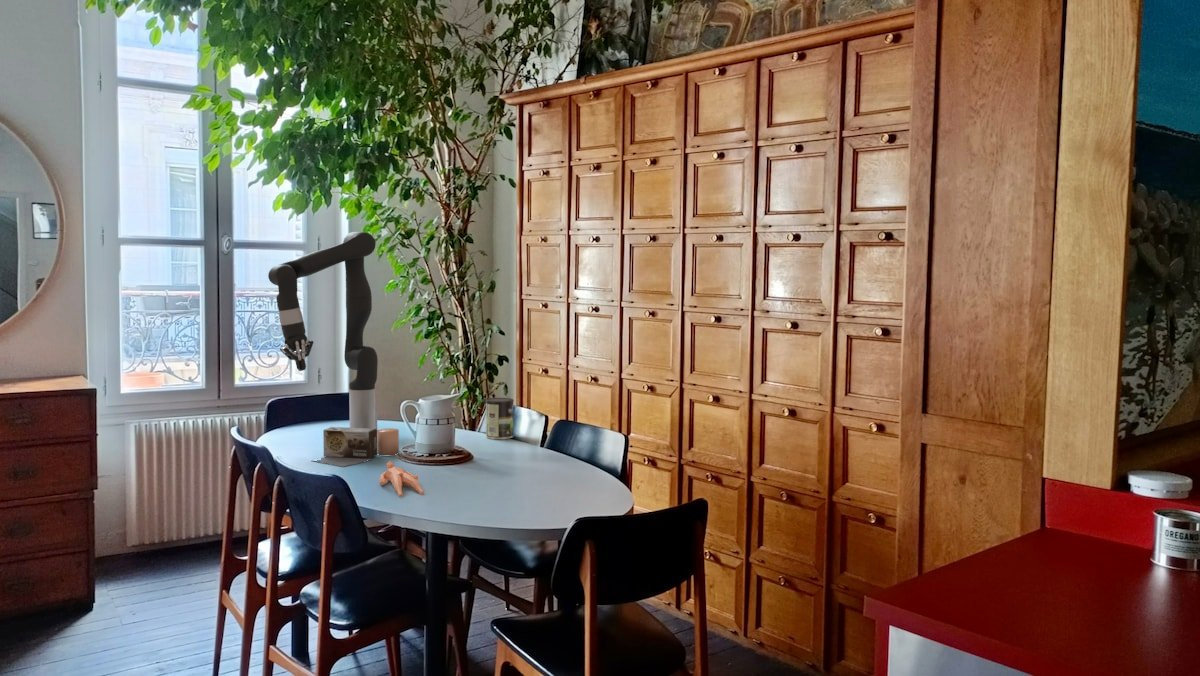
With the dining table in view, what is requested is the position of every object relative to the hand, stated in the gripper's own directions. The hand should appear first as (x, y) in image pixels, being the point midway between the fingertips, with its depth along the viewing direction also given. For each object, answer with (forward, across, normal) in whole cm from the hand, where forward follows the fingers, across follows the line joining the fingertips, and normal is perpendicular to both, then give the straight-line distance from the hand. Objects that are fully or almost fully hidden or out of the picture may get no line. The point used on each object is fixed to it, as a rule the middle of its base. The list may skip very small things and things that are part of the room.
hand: (302, 370), depth 303 cm
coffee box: (+22, -11, -20) cm, 32 cm away
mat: (+27, -14, -29) cm, 42 cm away
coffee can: (+38, +45, -45) cm, 74 cm away
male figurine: (+30, -26, -67) cm, 78 cm away
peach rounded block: (+30, +2, -33) cm, 45 cm away
